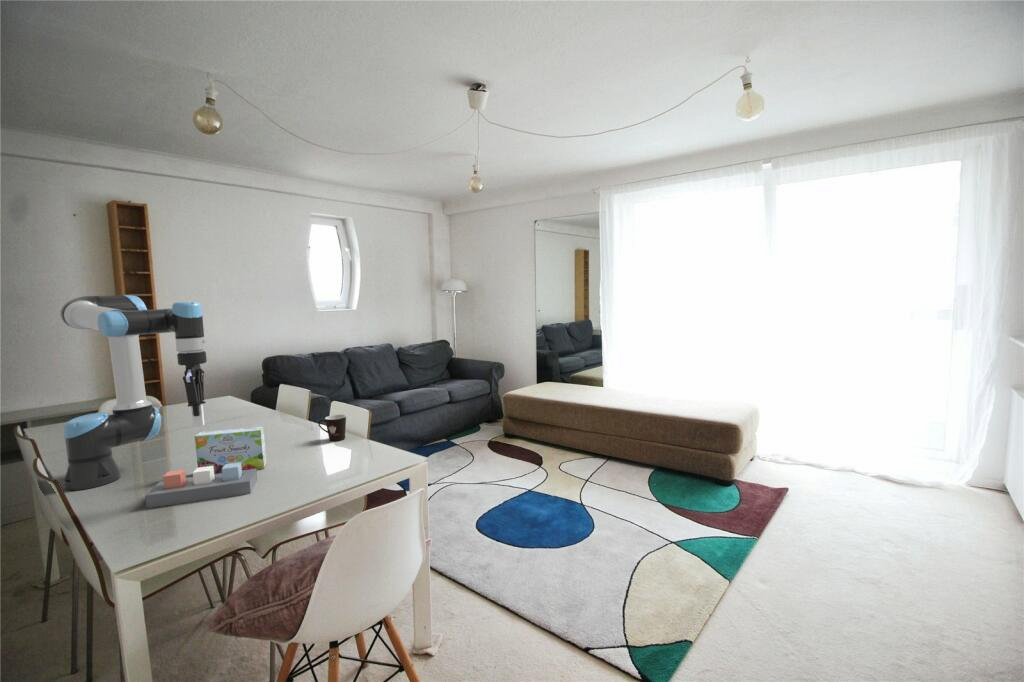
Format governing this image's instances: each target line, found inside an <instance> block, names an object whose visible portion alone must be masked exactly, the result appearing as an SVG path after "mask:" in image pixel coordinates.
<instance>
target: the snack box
mask: <svg viewBox="0 0 1024 682" xmlns="http://www.w3.org/2000/svg"><path fill="white" fill-rule="evenodd" d="M265 440H266V439H265V430H264V426H253V427H251V426H250V427H240V428H231V429H220V430H219V429H218V430H209V431H208V430H207V431H199V432H198V433H197V434H195V435H194V443H195V452H196V461H197V462H196V463H197V468H200V467H208V466H213V467H214V474H219V473H222V468H223V467H224V465H225V464H231V463H239V462H241V468H242V470H250V469H257V471H260V469H261V470H264V469H265V468H266V466H267V465H268V464H267V452H266V443H265Z"/></svg>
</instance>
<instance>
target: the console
mask: <svg viewBox="0 0 1024 682" xmlns="http://www.w3.org/2000/svg"><path fill="white" fill-rule="evenodd" d="M257 471H258V470H257V469H250V470H242V476H241V478H240V479H237V480H230V481H223V477H222V473H219V474H214V477H215V479H214V480H213V482H212V483H208V484H200V485H194V480H193V476H191V477H186V484H185V485H184V486H183V487H178V488H171V489H164V483H163V480H160V481H159V482H158V483H156V485H155V486H153V487H152V489H150V490H149V491H148V492H147V493H146V494H145V505H146V509H153V508H158V506H160V507H165V506H166V505H167V506H174V505H179V504H180V505H181V504H185V503H186V504H187V503H193V502H199V501H206V500H207V501H208V500H214V499H215V500H216V499H219V498H229V497H234V496H240V495H248V494H251V493H253V489H254V487H255V486H256V483H257V481H258V472H257ZM167 506H166V507H167Z"/></svg>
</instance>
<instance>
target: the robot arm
mask: <svg viewBox="0 0 1024 682" xmlns="http://www.w3.org/2000/svg"><path fill="white" fill-rule="evenodd" d="M171 307H172V308H161V309H159V308H158V309H148V308H147V306H146V304H145V303H144V301H143V300H142V299H141V298H140V297H138V296H137V295H130V294H119V295H117V294H116V295H115V294H114V295H85V296H79V297H75V298H73V299H70V300H68V301H67V302H66V303H64V305H63V306H62V307H61V309H60V318H61V320H62V322H63V323H64V324H65V325H67V326H69V328H70V327H71V328H73V329H76V330H96V331H99V332H100V333H101V336H103V337H107V338H108V343H109V351H110V352H109V354H110V359H111V367H112V374H113V375H112V377H113V383H114V390H115V400H116V404H115V405H114V406H113V407H112V409H111V411H112V414H108V413H107V412H106V411H105V412H104V411H100V412H99V411H98V412H95V413H94V412H93V413H87V414H85V415H80V416H77V417H74V418H72V419H70V420H68V421H67V422H66V423H65V425H64V427H63V430H64V431H63V432H64V433H63V438H64V439H65V440H64V441H65V448H66V449H65V450H66V456H67V464H68V466H67V469H66V471H65V472H66V473H65V476H64V479H63V487H64V489H65V490H66V491H80V490H86V489H87V490H88V489H93V488H97V487H101V486H104V485H107V484H110V483H113V482H115V481H117V480H119V479H120V478H121V477H122V472H121V471H122V470H121V469H120V467H119V465H118V463H117V462H116V460H115V458H114V457H113V451H112V449H113V448H117V447H120V446H124V445H129V444H133V443H137V442H144V441H146V440H149V439H153V438H155V437H156V436H158V433H159V431H160V430H161V426H162V415H161V413H160V410H159V408H157V407H156V406H153V402H151V401H150V400H148V399H147V394H146V388H145V387H146V385H145V376H144V370H143V363H142V362H143V361H142V355H141V346H140V345H141V344H140V339H139V336H140V335H154V334H167V333H168V334H169V333H174V337H175V338H174V339H175V347H176V352H178V353H176V356H177V357H176V358H177V364H178V365H179V366H185V370H184V376H182V379H183V382H184V387H185V393H186V399H187V402H188V403H187V407H188V408H189V407H190V408H191V417H192V425H193V427H200V426H201V427H202V426H204V425H205V417H204V416H205V415H204V414H205V413H204V406H203V405H204V404H206V400H205V386H204V384H205V383H204V382H205V381H204V380H205V379H204V378H205V377H204V376H205V371H204V370H203V368H202V367H201V365H203V364H206V363H207V360H208V359H207V352H206V351H205V349H206V344H207V342H208V341H207V340H206V339H205V331H204V330H205V329H204V319H203V318H204V317H203V315H204V313H203V311H202V305H201V303H200V302H198V301H184V302H183V301H182V302H173V304H172V306H171Z"/></svg>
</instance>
